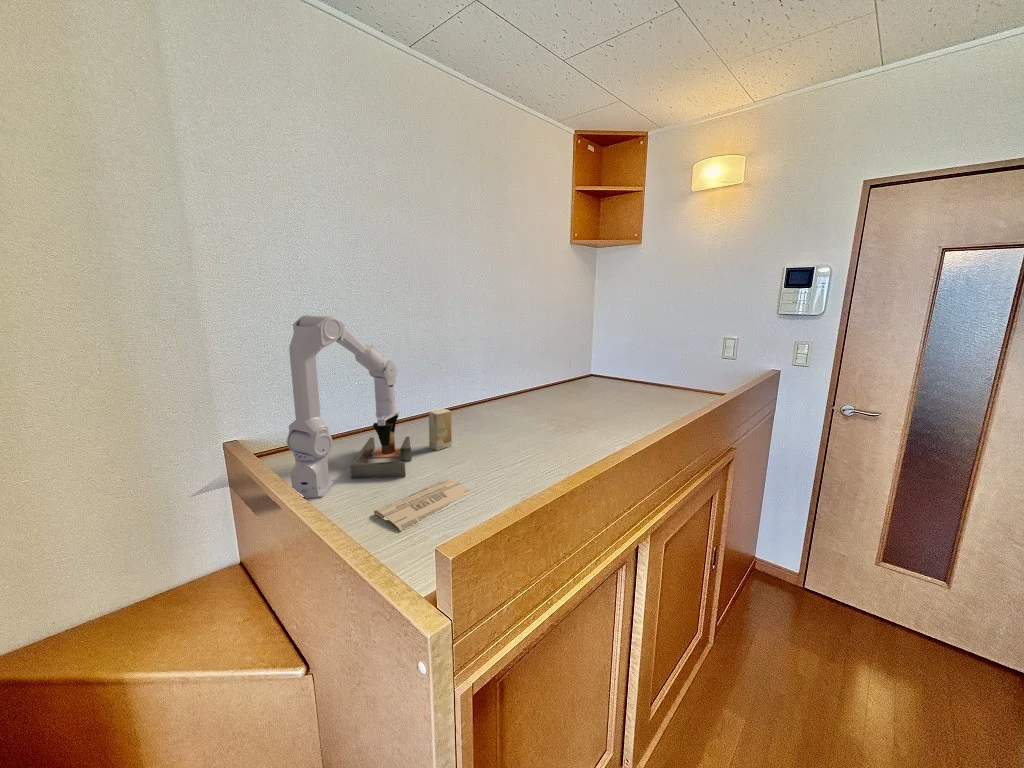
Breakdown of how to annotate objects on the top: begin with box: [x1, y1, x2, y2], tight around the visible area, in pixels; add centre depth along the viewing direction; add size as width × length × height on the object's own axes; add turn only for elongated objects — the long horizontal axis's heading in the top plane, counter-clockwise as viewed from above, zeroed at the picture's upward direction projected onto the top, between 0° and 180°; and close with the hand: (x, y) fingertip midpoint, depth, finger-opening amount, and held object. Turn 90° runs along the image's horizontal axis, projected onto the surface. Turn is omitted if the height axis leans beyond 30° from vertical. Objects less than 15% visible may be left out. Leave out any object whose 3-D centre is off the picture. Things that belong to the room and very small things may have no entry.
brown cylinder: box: [380, 432, 396, 454], centre depth 127 cm, size 4×4×6 cm
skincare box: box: [428, 408, 453, 451], centre depth 132 cm, size 6×4×12 cm
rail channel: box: [350, 436, 412, 480], centre depth 120 cm, size 22×14×4 cm, turn 5°
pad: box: [371, 446, 401, 459], centre depth 128 cm, size 8×8×1 cm
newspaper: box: [373, 478, 471, 532], centre depth 96 cm, size 23×12×2 cm, turn 138°
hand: (387, 440), depth 127 cm, fingers open, 7 cm apart
